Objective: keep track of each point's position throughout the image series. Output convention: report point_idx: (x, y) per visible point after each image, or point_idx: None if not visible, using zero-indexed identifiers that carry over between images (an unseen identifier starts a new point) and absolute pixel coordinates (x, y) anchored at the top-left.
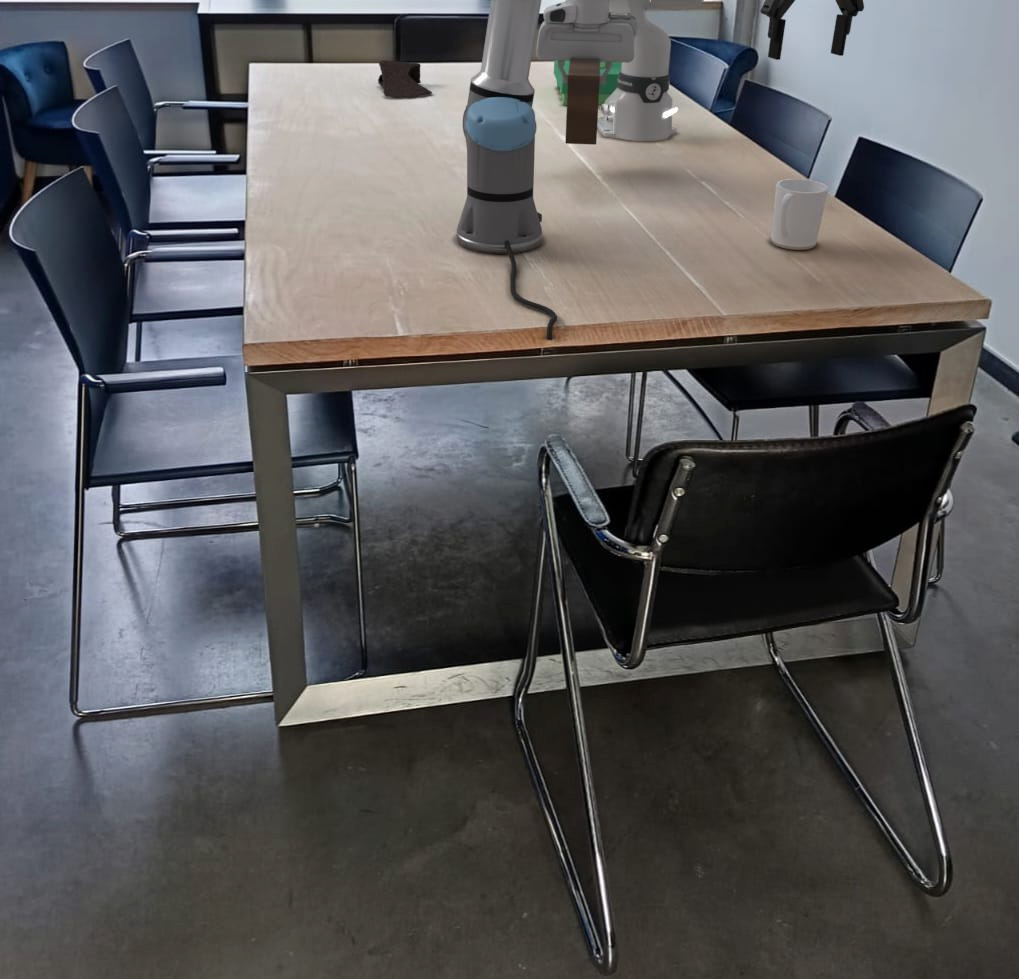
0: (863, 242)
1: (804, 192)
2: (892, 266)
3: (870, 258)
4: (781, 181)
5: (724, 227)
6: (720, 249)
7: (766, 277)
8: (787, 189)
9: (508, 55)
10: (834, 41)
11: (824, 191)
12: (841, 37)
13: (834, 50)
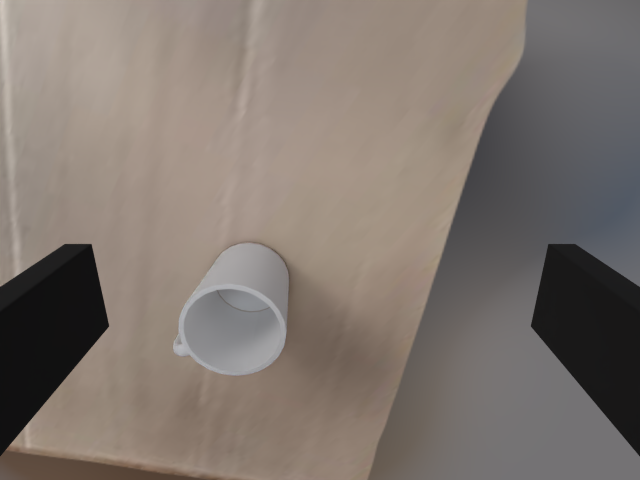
0: (370, 305)
1: (210, 367)
2: (337, 393)
3: (329, 361)
4: (204, 294)
5: (173, 160)
6: (115, 259)
7: (135, 373)
8: (186, 343)
9: None
10: (587, 298)
11: (255, 371)
12: (592, 384)
13: (551, 286)
